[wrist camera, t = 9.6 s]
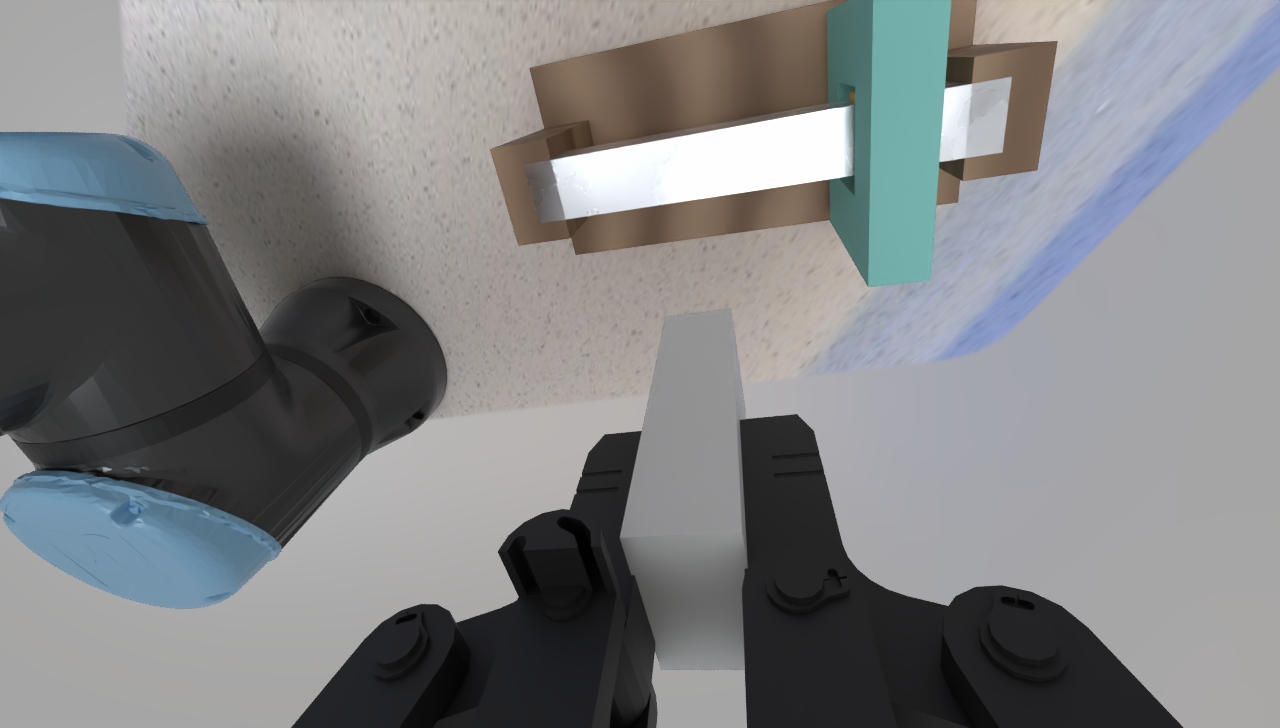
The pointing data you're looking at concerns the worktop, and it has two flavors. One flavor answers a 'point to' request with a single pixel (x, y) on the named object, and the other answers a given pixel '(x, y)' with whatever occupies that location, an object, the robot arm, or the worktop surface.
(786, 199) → the stand
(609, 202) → the grey square bar
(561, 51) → the worktop surface
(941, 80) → the teal square ring
